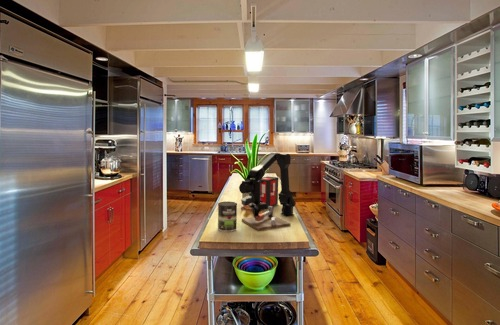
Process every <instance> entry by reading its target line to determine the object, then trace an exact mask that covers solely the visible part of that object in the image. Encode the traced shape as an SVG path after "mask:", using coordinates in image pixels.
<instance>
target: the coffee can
mask: <svg viewBox="0 0 500 325" xmlns="http://www.w3.org/2000/svg"><path fill="white" fill-rule="evenodd" d="M217 206H218V208H217V210H218V211H217V215H218V216H217V230H218V231H220V232H224V233H229V232H234V231H236V230H237V220H238V219H237V218H238V217H237V216H238V215H237V214H238V212H237V211H238V208H237V207H238V203H237V202H235V201H221V202H217Z"/></svg>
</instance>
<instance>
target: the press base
mask: <svg viewBox="0 0 500 325" xmlns="http://www.w3.org/2000/svg"><path fill="white" fill-rule="evenodd" d="M273 217H275V226H274V225H271V219H272V217H268V216H266V217H264V219H263V220H261V221H255V218H254V216H251V217H245V218H244V217H243V218H241V222H242V223H244V224H246V225H248V226H249V227H250V228H253V229H254V230H256V231H258V232H259V231H264V230H265V231H266V230H272V229H279V228H285V227H291V224H292V223H290V222H289V221H287V220H285V219H282V218H280V217H278V216H276V215H274V214H273Z"/></svg>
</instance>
